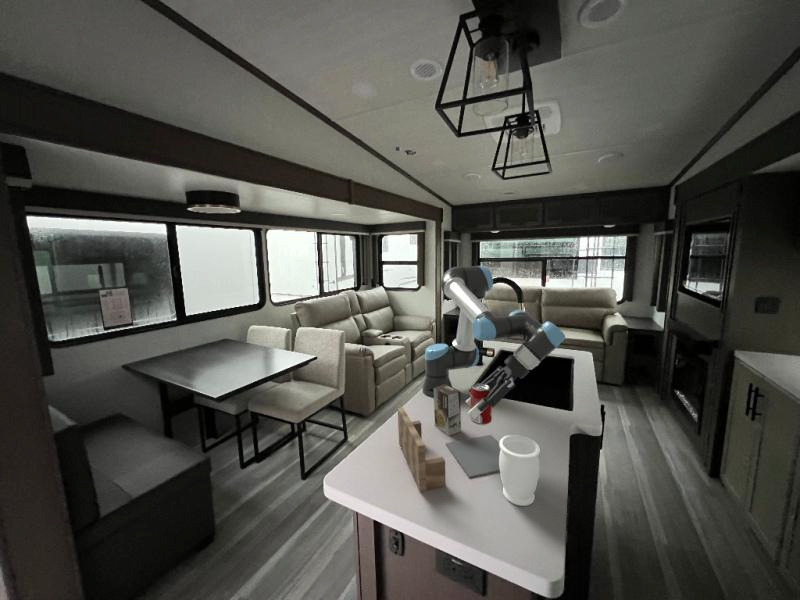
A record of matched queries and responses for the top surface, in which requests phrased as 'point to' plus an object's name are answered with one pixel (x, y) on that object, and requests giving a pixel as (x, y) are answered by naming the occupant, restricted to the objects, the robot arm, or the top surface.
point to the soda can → (476, 396)
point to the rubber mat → (477, 455)
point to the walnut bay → (419, 455)
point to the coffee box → (447, 409)
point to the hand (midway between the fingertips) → (470, 409)
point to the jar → (519, 468)
